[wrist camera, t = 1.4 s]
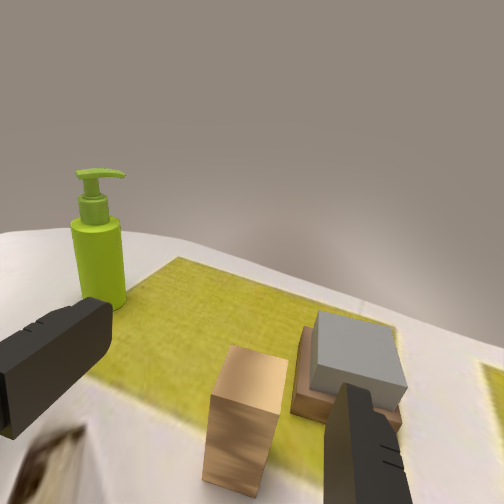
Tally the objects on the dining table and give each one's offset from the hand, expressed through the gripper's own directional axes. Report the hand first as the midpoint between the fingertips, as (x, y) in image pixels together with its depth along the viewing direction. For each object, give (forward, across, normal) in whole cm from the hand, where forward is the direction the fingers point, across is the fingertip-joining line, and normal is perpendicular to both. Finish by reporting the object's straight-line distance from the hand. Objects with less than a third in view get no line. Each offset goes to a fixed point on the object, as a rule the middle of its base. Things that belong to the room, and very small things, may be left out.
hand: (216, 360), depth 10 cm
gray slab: (+24, -11, +16) cm, 31 cm away
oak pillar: (+12, -1, +22) cm, 25 cm away
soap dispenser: (+27, +24, +21) cm, 42 cm away
